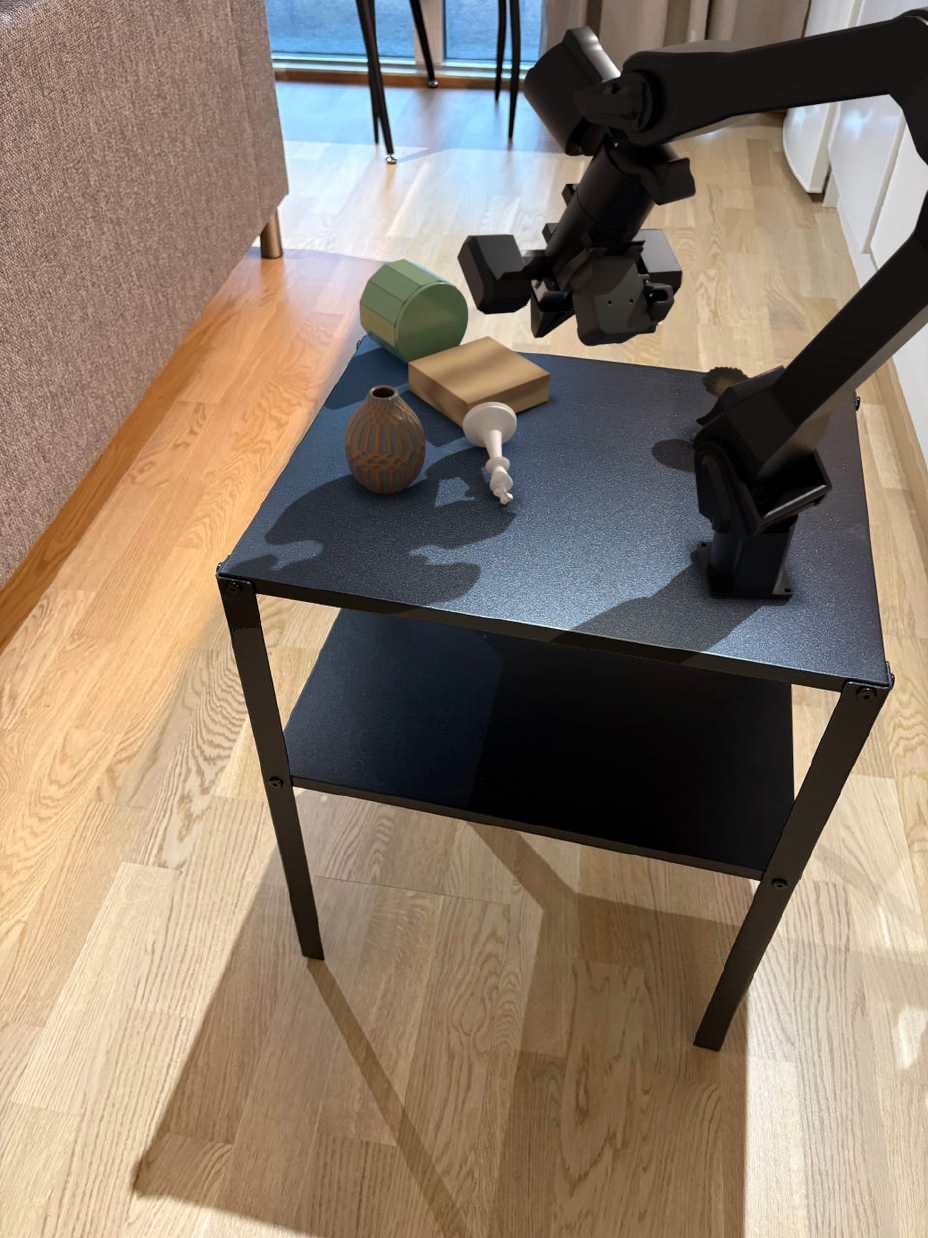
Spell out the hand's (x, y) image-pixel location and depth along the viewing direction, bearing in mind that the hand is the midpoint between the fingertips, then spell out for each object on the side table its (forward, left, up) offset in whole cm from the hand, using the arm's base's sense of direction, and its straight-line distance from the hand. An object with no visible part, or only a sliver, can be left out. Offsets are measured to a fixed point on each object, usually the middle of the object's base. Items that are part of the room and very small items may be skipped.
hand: (536, 333), depth 89 cm
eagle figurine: (-1, -20, -10) cm, 22 cm away
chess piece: (-3, +4, -7) cm, 9 cm away
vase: (-9, +13, -10) cm, 19 cm away
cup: (+12, +10, -5) cm, 16 cm away
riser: (+6, +5, -10) cm, 12 cm away
